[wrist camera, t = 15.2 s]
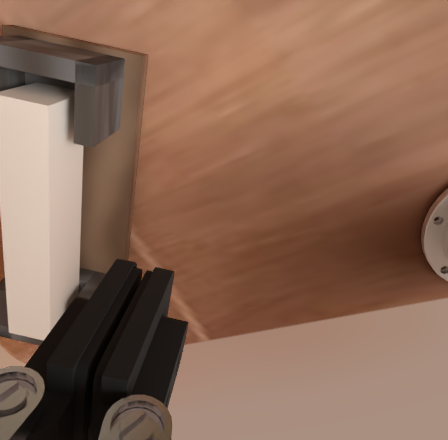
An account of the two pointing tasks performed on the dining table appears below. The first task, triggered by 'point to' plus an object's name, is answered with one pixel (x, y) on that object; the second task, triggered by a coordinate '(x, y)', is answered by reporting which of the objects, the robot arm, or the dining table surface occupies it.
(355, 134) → the dining table surface
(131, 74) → the end cap frame
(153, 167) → the dining table surface
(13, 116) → the slat
